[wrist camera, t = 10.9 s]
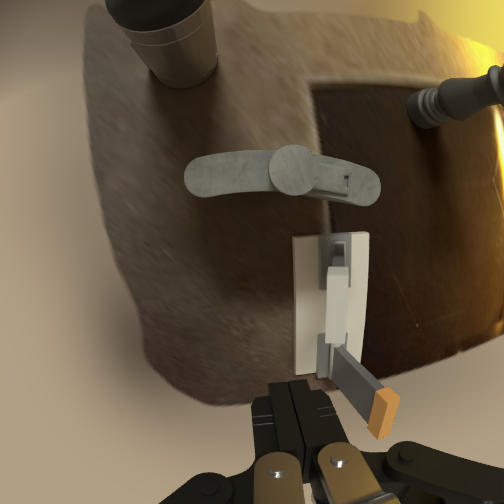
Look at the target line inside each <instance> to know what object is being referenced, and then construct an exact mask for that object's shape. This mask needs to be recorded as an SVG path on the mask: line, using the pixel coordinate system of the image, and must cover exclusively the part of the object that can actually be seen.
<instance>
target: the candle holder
mask: <svg viewBox="0 0 504 504" xmlns="http://www.w3.org/2000/svg"><path fill="white" fill-rule="evenodd" d="M496 104H501V105H502V106H504V65H503V67H499V66H497V65H494V66H491V67H490V68H489V70H488V74H486V75H483V76H480V77H477V78H450V79H447V80H445V81H443V82H442V83H441V85H440V86H439V88H438V89H437V88H430V89H427V88H426V89H423V90H421V91H419V92H416V93H414V94H412V95H410V97H409V98H408V100H407V111H408V114H409V116H410V118H411V120H412V121H413V122H414V123H415V124H416V125H417V126H419V127H420V128H424V129H429V128H433V127H437V126H440V125H442V124H444V123H446V122H448V121H449V120H450V118H453V119H455V120H461V121H463V120H466V119H468V118H470V117H472V116H473V115H475V114H476V113H478V112H479V111H481V110H482V109H484V108H485V107H487V106H491V105H496Z"/></svg>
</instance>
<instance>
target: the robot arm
mask: <svg viewBox="0 0 504 504" xmlns="http://www.w3.org/2000/svg"><path fill="white" fill-rule="evenodd" d="M105 3H106V7H107V10H108V12H109V13H110V15H111V16H112V17H113V19H114V20H115V21H116V23H117V24H118V25H119V26H120V28H121V29H122V30H123V32H124V33H125V34H126V36H127V37H128V38H129V44H130V45H131V46H132V48H133V49H134V50H135V52H136V53H137V54H138V55H139V57H140V58H141V59H142V61H143V62H144V63H145V65H146V66H147V67H148V69H150V70H152V71H153V72H154V74H155V75H156V76H157V78H158V79H159V80H160V81H161V82H162V83H163V84H165V85H167V86H169V87H172V88H178V89H181V88H190V87H193V86H196V85H198V84H200V83H202V82H203V81H205V80H206V79H207V78H208V77H209V76H210V75H211V74H212V73H213V71H214V70H215V67H216V65H217V60H218V57H217V48H216V39H215V31H214V23H213V15H212V8H211V0H105ZM251 412H252V423H253V435H254V446H255V461H254V462H253V464H252V466H251V467H250V468H249V469H247V470H246V471H244V472H242V473H240V474H237V475H234V476H230V477H227V478H226V477H225V476H223V475H221V474H217V473H211V472H208V473H201V474H198V475H196V476H194V477H192V478H191V479H190V480H188V481H187V482H186V483H185V484H184V485H182V486H181V487H180V488H178V489H177V490H176V491H175V492H173V493H172V494H171V495H169V496H168V497H167V498H165V499H164V500H163V501H161V502H160V503H159V504H305V499H304V491H303V484H305V483H310V484H311V488H312V495H311V499H312V502H313V504H504V469H503V468H498V467H494V466H490V465H486V464H482V463H478V462H475V461H471V460H468V459H464V458H461V457H457V456H454V455H451V454H448V453H445V452H442V451H439V450H436V449H432V448H430V447H427V446H424V445H421V444H418V443H416V442H412V441H403V442H399V443H396V444H395V445H393V446H392V447H391V448H390V449H389V450H388V452H372V453H371V452H363V451H360V450H359V449H358V448H357V447H355V446H354V445H352V444H350V443H349V441H348V439H347V436H346V434H345V432H344V429H343V427H342V425H341V423H340V420H339V418H338V416H337V415H336V411H335V409H334V407H333V404H332V402H331V399H330V397H329V396H328V395H327V394H326V393H325V392H323V391H322V390H321V389H319V390H312V391H311V390H310V387H309V385H308V382H307V380H306V379H302V380H294V381H288V382H278V383H268V396H263V397H256V398H255V400H254V402H253V403H252V405H251Z"/></svg>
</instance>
